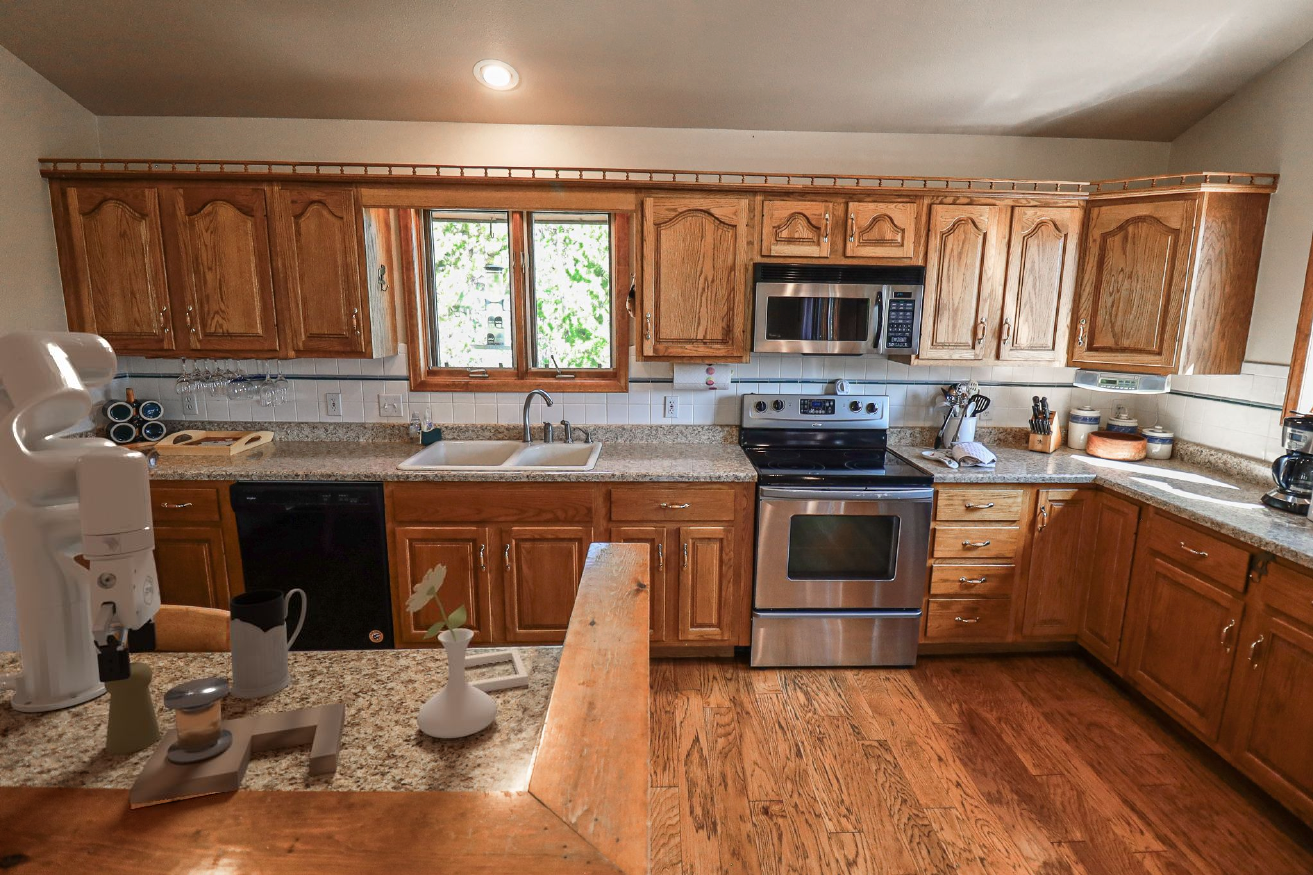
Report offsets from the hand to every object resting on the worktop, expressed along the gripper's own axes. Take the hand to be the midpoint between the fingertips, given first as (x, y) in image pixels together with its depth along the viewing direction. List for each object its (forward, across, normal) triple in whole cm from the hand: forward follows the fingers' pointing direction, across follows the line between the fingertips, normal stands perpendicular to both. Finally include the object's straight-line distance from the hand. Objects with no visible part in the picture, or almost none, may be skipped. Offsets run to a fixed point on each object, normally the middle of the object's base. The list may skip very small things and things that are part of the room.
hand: (130, 664), depth 91 cm
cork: (+12, +1, +1) cm, 12 cm away
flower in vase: (+13, -10, -41) cm, 44 cm away
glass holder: (+12, +16, -14) cm, 24 cm away
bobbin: (+9, -9, -10) cm, 16 cm away
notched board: (+12, -9, -15) cm, 21 cm away
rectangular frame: (+12, +5, -48) cm, 50 cm away
